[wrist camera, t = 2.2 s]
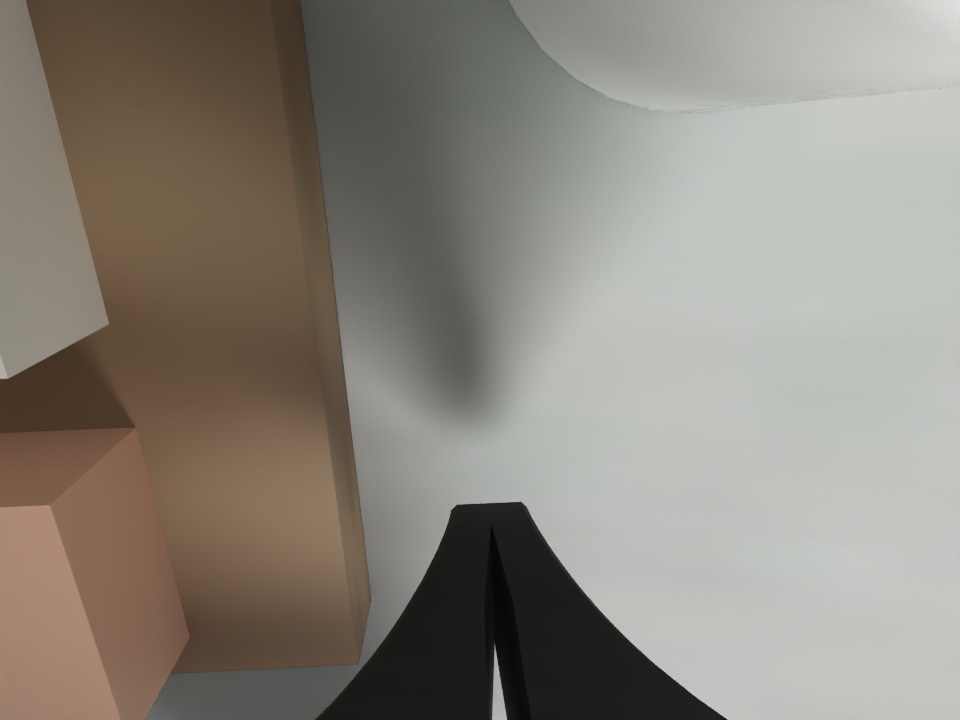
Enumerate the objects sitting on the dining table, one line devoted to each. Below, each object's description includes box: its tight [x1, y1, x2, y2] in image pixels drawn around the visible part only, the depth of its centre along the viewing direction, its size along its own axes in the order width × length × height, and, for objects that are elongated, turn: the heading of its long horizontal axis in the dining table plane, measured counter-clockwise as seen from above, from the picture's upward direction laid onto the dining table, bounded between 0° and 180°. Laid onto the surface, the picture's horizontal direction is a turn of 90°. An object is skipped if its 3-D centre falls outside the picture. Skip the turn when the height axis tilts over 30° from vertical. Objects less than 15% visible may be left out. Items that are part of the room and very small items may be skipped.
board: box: [0, 0, 371, 674], centre depth 12 cm, size 14×12×2 cm
